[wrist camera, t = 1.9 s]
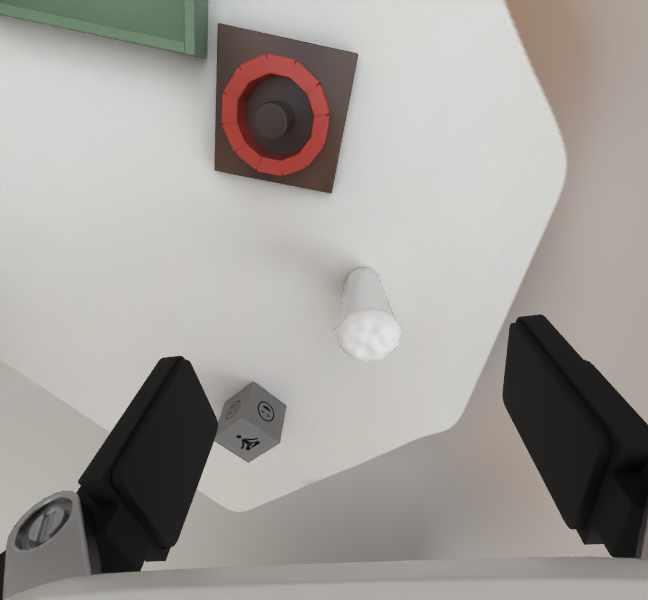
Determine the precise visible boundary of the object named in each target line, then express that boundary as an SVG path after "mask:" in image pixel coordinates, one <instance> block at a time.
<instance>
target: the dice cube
mask: <svg viewBox="0 0 648 600" xmlns="http://www.w3.org/2000/svg"><path fill="white" fill-rule="evenodd" d="M285 410H286V405H284V404H283V403H282V402H280V401H279V400H278V399H276V398H275V397H274V396H272V395H271V394H270V393H268V392H267V391H266V390H264V389H263V388H261V387H260V386H259V385H257V384H256V383H255V382H252V383H251V384H250V385H248V386H247V387H246V388H244V389H243V390H241V391H240V392H239V393H237V394H236V395H235V396H233V397H232V398H231V399H229V400H228V401H227V402H225V404H224V407H223V410H222V413H221V415H220V418H219V421H218V430H217V434H216V436H215V439H214V441H215V442H217V443H218V444H220V445H221V446H223V447H225V448H226V449H228V450H229V451H231V452H232V453H234V454H236V455H237V456H239V457H240V458H242V459H243V460H245V461H247V462H248V463H249V462H250V461H252V460H253V459H255V458H257V457H258V456H260V455H261V454H263V453H265V452H266V451H268V450H269V449H271V448H273V447H274V446H276V445H277V444H279V443H280V439H281V433H282V428H283V422H284V416H285Z"/></svg>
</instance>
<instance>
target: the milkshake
mask: <svg viewBox="0 0 648 600" xmlns="http://www.w3.org/2000/svg"><path fill="white" fill-rule="evenodd" d="M337 327H338V329H337V340H338V343H339V346H340V347H341V349H342V350H343V351H344V352H345V353H346V354H348V355H349V356H350V357H352V358H354V359H356V360H358V361H361V362H371V361H377V360H381V359H383V358H385V357H386V356H388V355H389V354H390V353H391V352H392V351H393V350H394V349H395V348H396V347H397V345H398V343H399V340H400V335H401V330H400V326H399V324H398V322H397V320H396V317H395V315H394V313H393V311H392V308H391V306H390V304H389V301H388V299H387V296H386V293H385V291H384V288H383V285H382V283H381V280H380V277H379V275H378V274H376V273H375V272H374V271H373V270H371V269H369V268H358V269H356V270H354V271H352V272H351V273H349V274H348V277H347V279H346V281H345V283H344V291H343V298H342V306H341V313H340V319H339V324H338V326H337ZM337 327H336V328H337ZM336 328H335V329H336ZM335 329H334V330H335ZM334 330H333V331H334Z"/></svg>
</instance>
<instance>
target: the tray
mask: <svg viewBox="0 0 648 600" xmlns="http://www.w3.org/2000/svg"><path fill="white" fill-rule="evenodd" d="M207 12H208V0H0V15H4V16H9V17H14V18H19V19H23V20H28V21H33V22H37V23H42V24H47V25H51V26H56V27H61V28H65V29H70V30H75V31H79V32H84V33H89V34H94V35H98V36H103V37H108V38H112V39H117V40H122V41H126V42H131V43H136V44H140V45H145V46H150V47H154V48H159V49H164V50H168V51H173V52H178V53H183V54H187V55H192V56H197V57H201V58H207Z"/></svg>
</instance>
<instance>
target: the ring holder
mask: <svg viewBox="0 0 648 600" xmlns="http://www.w3.org/2000/svg"><path fill="white" fill-rule="evenodd" d="M268 53H269V54H274V55H278V56H283V57H287V58H292V59H295V60H297V61H299V62H300V63H302V64H303V65H304V66H305V67H306V68H307V69H308V70H309V71H310V72H311V73H312V74H313V75H314V76H315V77H316V78H317V79H318V80H319V81H320V82H321V83H320V85H322V86H323V89H324V92H325V95H326V99H327V102H328V105H329V108H330V112H329V113H330V120H329V126H328V132H327V138H326V142H325V144H324V147H323V148H322V149H321V151H320V152H319V153H318V154H317V156H316V157H315V158H314V159H313V161H312V162H311V163H310V164H309V166H306V168H304V169H301V170H298V171H296V172H293V173H290V174H287V175H282V176H278V175H273V174H268V173H263V172H258V171H257V170H258V169H256V170H255V169H254V168H252V167H251V166H250V165H249V164H248V163H246V162H245V161H244V160H243V159H242V158H240V157H239V156H238V155H237V154H236V151H233V149H232V146H231V144H230V142H229V140H228V137H227V135H226V133H225V131H224V129H223V126H222V125H224V124H223V123H222V94H223V93H225V92H224V89H225V87H226V86H227V84H228V82H229V81H230V79H231V77H232V76H233V74H234V72H235V71H236V69H237V68H238V67H240V64H243V63H245V62H247V61H249V60H252V59H254V58H256V57H258V56H260V55H263V54H268ZM357 58H358V54H357V53H352V52H348V51H343V50H339V49H334V48H329V47H325V46H320V45H316V44H311V43H307V42H302V41H298V40H293V39H289V38H284V37H279V36H275V35H270V34H266V33H261V32H257V31H252V30H248V29H243V28H238V27H234V26H229V25H225V24H220V23H218V40H217V84H216V127H215V171H219V172H225V173H230V174H235V175H240V176H245V177H250V178H255V179H260V180H266V181H271V182H276V183H281V184H286V185H291V186H296V187H301V188H307V189H312V190H317V191H322V192H327V193H332V188H333V183H334V178H335V173H336V167H337V162H338V157H339V152H340V147H341V141H342V136H343V131H344V126H345V120H346V115H347V110H348V105H349V99H350V94H351V89H352V84H353V79H354V73H355V68H356V63H357ZM240 68H241V67H240ZM313 117H314V115H313V112H312V109H311V106H310V103H309V100H308V97H307V94H306V93H305V92H304V91H303V90H302V89H301V88H300V87H299V86H298V85H297V84H296V83H295V82H294V81H292V80H291V79H290V78H287V77H282V76H278V75H274V76H271V77H269V78H267V79H264V80H262V81H260V82H258V83H257V84H256V85H255V87H254V88H253V90H252V92H251V93H250V95H249V96H248V98H247V99H246V116H245V121H246V123H247V126H248V128H249V130H250V133H251V135H252V138H253V140H255V141H256V142H257V143H258V144H259V145H260V146H262V147H263V148H264V149H265V150H266V151H267V152H272V153H277V154H282V155H287V154H289V153H292V152H295V151H297V150H300V149H302V147H303V146H304V145H305V144H306V142H307V141H308V140H309V138H310V137H311V131H312V124H313Z"/></svg>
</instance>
